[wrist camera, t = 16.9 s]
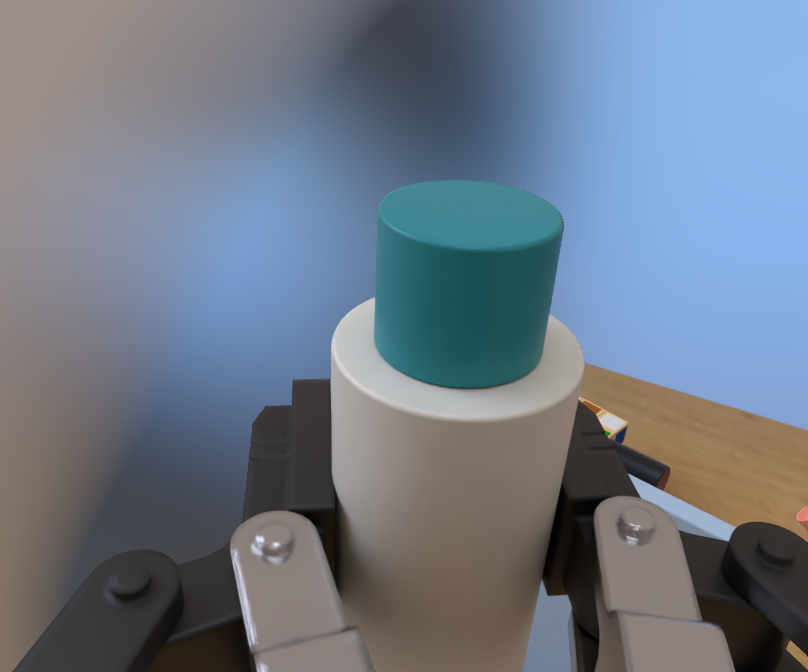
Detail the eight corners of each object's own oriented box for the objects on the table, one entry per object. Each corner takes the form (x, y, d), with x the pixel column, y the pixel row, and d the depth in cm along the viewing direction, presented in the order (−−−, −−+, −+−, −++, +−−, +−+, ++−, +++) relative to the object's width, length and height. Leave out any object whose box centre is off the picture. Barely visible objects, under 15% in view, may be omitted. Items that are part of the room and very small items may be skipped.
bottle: (351, 858, 14) (362, 282, 8) (320, 685, 17) (311, 169, 11) (530, 811, 15) (670, 259, 9) (470, 655, 18) (542, 160, 11)
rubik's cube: (569, 518, 51) (584, 456, 48) (507, 477, 54) (516, 417, 51) (613, 482, 54) (629, 422, 51) (552, 445, 57) (563, 387, 54)
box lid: (755, 554, 19) (798, 478, 22) (412, 379, 25) (478, 337, 28) (651, 802, 25) (694, 719, 28) (397, 614, 31) (452, 561, 34)
